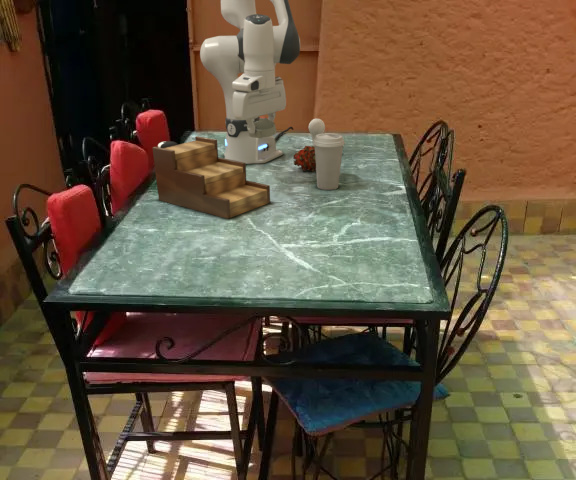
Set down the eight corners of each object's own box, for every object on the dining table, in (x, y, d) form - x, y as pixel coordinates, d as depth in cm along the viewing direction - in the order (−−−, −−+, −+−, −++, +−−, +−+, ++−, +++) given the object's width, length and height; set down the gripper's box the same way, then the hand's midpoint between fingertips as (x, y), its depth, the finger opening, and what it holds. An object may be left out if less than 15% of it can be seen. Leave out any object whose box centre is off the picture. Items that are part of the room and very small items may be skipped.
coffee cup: (345, 190, 194) (347, 139, 186) (314, 191, 193) (315, 140, 185) (340, 182, 202) (342, 132, 194) (310, 183, 201) (311, 133, 193)
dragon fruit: (322, 178, 211) (295, 177, 218) (333, 159, 213) (306, 158, 220) (310, 160, 204) (283, 160, 212) (322, 139, 206) (294, 140, 214)
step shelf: (202, 186, 199) (198, 136, 191) (270, 202, 185) (268, 149, 176) (158, 200, 188) (152, 147, 180) (227, 218, 173) (224, 162, 165)
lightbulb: (316, 147, 242) (316, 116, 236) (327, 149, 238) (328, 118, 232) (304, 149, 239) (305, 118, 232) (316, 152, 235) (316, 120, 229)
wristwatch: (280, 135, 192) (279, 118, 190) (270, 140, 188) (270, 122, 185) (253, 132, 196) (252, 115, 193) (243, 137, 191) (242, 119, 188)
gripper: (274, 74, 191) (275, 123, 199) (227, 83, 178) (230, 135, 186) (290, 76, 188) (291, 125, 196) (244, 86, 175) (246, 138, 183)
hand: (261, 130), depth 191 cm, fingers closed on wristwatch, 6 cm apart
